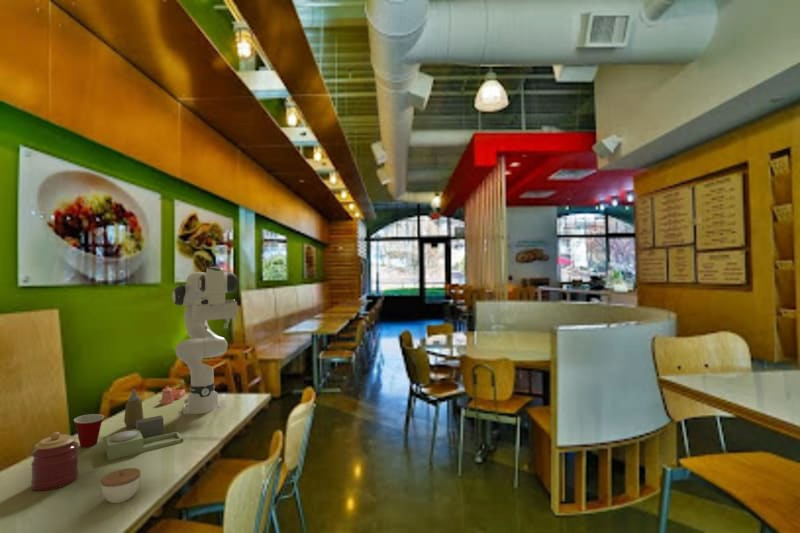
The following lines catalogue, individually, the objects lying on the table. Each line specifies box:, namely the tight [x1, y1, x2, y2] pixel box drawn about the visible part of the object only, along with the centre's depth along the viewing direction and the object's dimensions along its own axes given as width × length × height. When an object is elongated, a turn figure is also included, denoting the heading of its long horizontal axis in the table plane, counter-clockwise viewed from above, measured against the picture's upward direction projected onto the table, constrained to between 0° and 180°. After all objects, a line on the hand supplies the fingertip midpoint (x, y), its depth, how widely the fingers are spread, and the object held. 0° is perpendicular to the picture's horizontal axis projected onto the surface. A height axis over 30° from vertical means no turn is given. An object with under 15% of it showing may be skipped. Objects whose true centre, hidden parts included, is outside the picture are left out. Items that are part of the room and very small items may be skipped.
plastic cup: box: [73, 413, 105, 449], centre depth 184 cm, size 11×11×12 cm
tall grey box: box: [135, 415, 164, 439], centre depth 193 cm, size 5×10×8 cm, turn 128°
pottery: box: [160, 385, 186, 405], centre depth 250 cm, size 18×10×10 cm, turn 9°
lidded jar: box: [100, 467, 141, 504], centre depth 138 cm, size 11×11×9 cm
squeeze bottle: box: [123, 388, 145, 429], centre depth 206 cm, size 8×8×18 cm
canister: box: [30, 431, 79, 491], centre depth 151 cm, size 13×13×18 cm
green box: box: [105, 430, 184, 461], centre depth 181 cm, size 12×27×7 cm, turn 128°
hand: (215, 328), depth 206 cm, fingers open, 8 cm apart
